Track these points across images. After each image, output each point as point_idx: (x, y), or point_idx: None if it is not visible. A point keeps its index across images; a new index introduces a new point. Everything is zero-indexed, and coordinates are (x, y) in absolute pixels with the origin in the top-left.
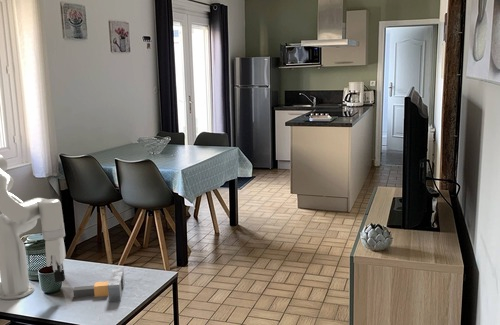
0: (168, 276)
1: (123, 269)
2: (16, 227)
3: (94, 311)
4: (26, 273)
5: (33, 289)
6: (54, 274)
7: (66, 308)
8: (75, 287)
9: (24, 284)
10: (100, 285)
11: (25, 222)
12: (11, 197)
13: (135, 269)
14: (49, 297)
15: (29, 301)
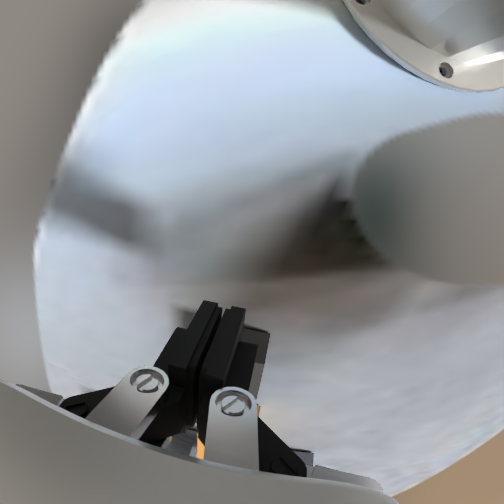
0: None
1: None
2: None
3: (90, 366)
4: (500, 17)
5: (441, 85)
6: (180, 345)
7: (117, 282)
8: (254, 366)
9: (422, 12)
10: (203, 450)
11: None
12: None
13: (406, 483)
14: (292, 188)
15: (272, 61)
